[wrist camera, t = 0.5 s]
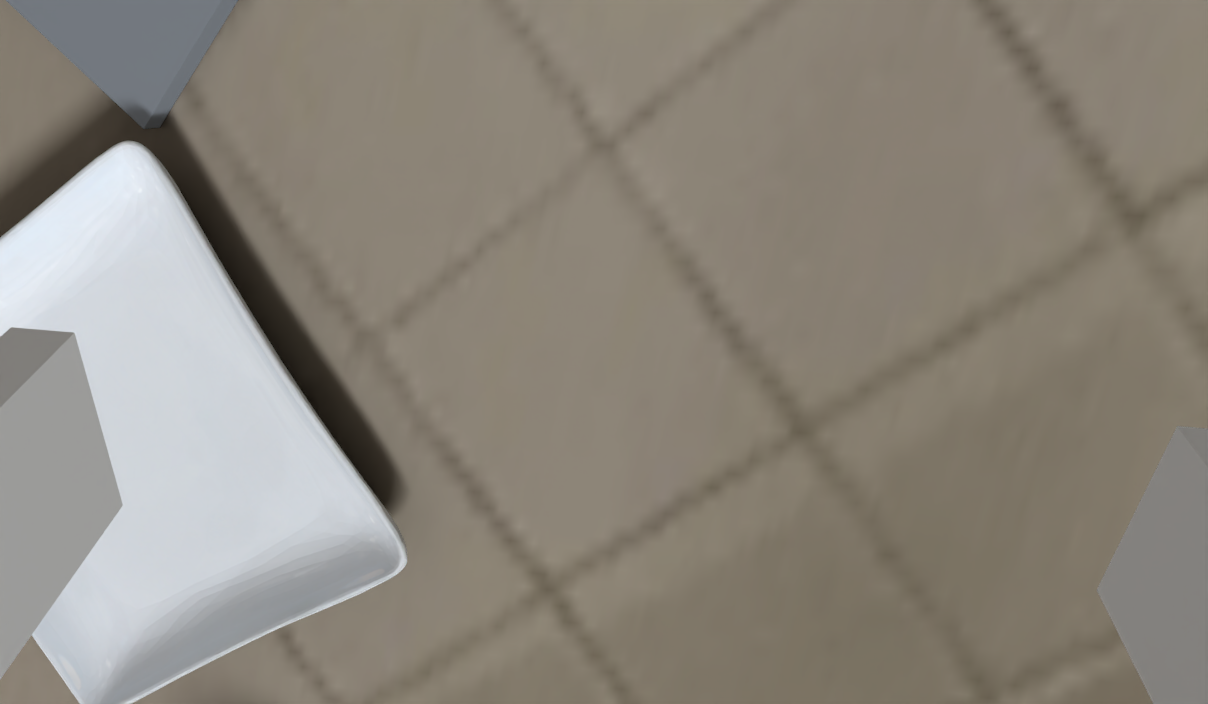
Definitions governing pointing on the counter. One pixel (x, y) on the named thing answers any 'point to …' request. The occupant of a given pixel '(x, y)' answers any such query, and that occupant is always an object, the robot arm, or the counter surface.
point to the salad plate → (183, 442)
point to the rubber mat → (132, 45)
